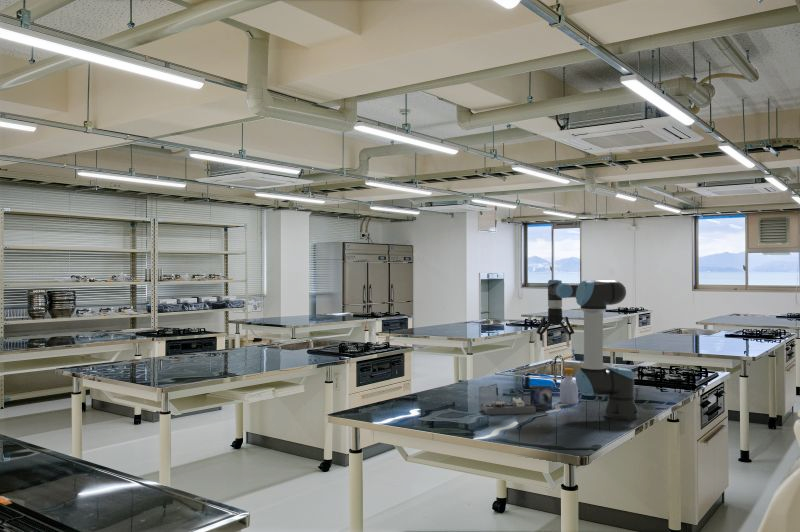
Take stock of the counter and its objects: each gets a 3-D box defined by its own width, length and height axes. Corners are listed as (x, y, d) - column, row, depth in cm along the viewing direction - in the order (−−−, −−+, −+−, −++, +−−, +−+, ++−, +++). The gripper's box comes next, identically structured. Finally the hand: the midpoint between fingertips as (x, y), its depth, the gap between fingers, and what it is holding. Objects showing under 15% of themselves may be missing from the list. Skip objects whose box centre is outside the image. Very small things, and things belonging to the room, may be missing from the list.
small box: (530, 408, 314) (530, 387, 314) (530, 405, 320) (529, 385, 320) (552, 409, 312) (552, 388, 312) (551, 406, 319) (550, 385, 319)
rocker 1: (504, 403, 302) (504, 400, 302) (497, 403, 302) (496, 401, 302) (500, 403, 310) (500, 400, 310) (493, 403, 309) (493, 401, 310)
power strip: (551, 412, 303) (551, 403, 303) (487, 414, 300) (487, 405, 300) (544, 408, 313) (544, 399, 313) (482, 410, 310) (482, 400, 310)
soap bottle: (578, 404, 321) (578, 357, 322) (560, 404, 323) (560, 356, 324) (577, 401, 330) (577, 354, 331) (559, 400, 332) (559, 354, 332)
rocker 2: (524, 406, 303) (524, 403, 303) (517, 406, 303) (517, 404, 303) (519, 399, 311) (519, 397, 311) (512, 400, 311) (512, 397, 310)
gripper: (575, 307, 345) (576, 345, 345) (530, 307, 345) (531, 346, 345) (579, 308, 338) (580, 347, 337) (533, 308, 338) (534, 347, 337)
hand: (555, 346), depth 341 cm, fingers open, 13 cm apart
